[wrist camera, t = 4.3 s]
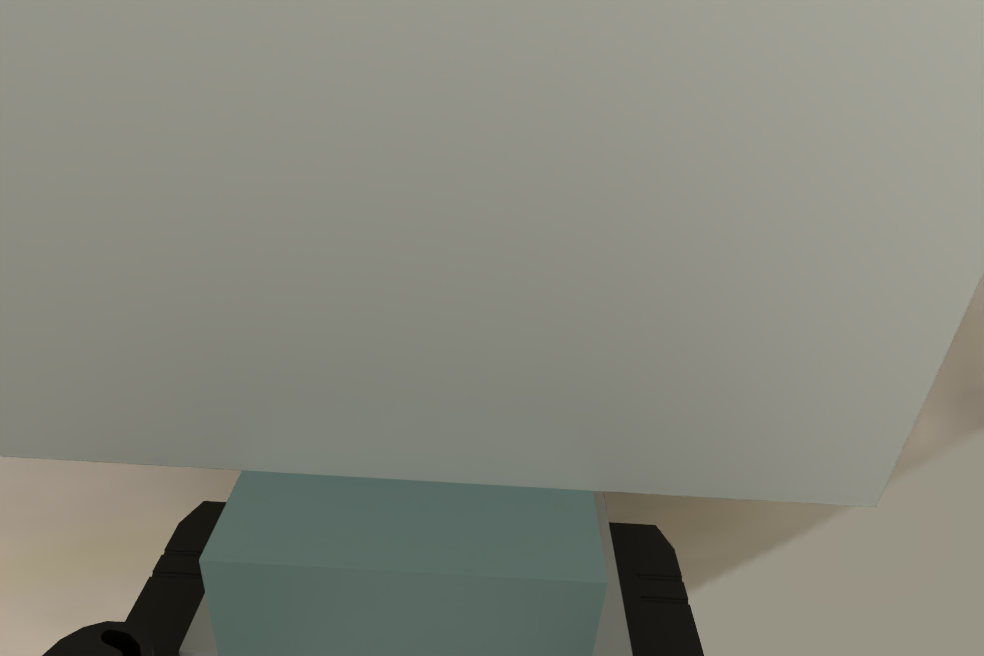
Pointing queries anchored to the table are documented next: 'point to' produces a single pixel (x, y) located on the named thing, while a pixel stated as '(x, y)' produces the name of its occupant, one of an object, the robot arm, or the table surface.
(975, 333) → the table surface
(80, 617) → the table surface
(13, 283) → the lid
